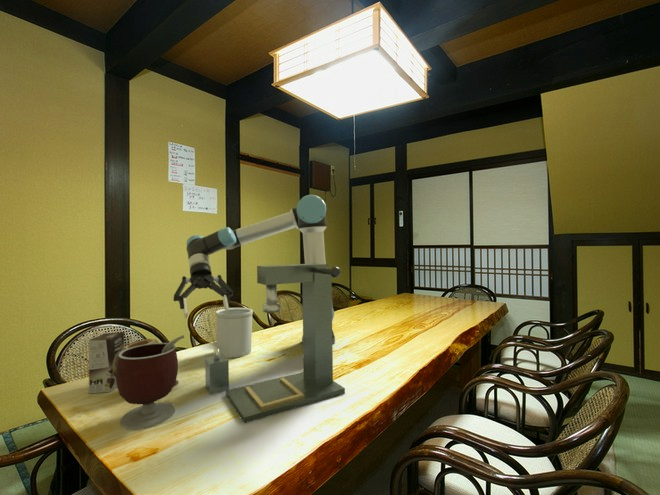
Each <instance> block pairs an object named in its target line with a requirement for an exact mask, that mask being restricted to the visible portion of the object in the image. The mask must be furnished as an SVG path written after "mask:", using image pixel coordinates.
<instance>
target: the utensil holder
mask: <svg viewBox="0 0 660 495" xmlns="http://www.w3.org/2000/svg"><path fill="white" fill-rule="evenodd" d="M253 312H254V311H253V309H252V308H249V307H229V312H228V314H226V313H225V308H223V309H222V308H221V309H218V310H216V311H215V316H216V317H215V318H216V321H215V324H216V333H215V334H216V349H217V348H218V349H219V355H222V354H223V355H224V356H225V357H226V358H227V359H235V358H236V359H237V358H240V357H245V356H248V355H250V354H251V352H252V338H253V336H252V334H253Z"/></svg>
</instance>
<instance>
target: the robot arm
mask: <svg viewBox="0 0 660 495" xmlns="http://www.w3.org/2000/svg"><path fill="white" fill-rule="evenodd" d="M291 229H296V230H299V231H300V233H302V240H303V243H302V244H303V253H304V254H303V256H304V257H303V258H304V264H327V262H326V251H325V250H326V249H325V236H324V232H325V230H326V229H327V204H326V202H325V201H324V200H323V198H321V197H320V196H318V195H315V194H308V195H305V196H303V197H302V198H300V200H298V202H297V205H296V207H293V208H290V210H289V212H285V213H282V214H279V215H275V216H273V217H269V218H266V219H264V220H261V221H257V222H254V223H252V224H248V225H246V226H242V227H240V228H236V229H231V228H230V227H229V226H227V227H224V228H220V229H219V230H217V231H215V232H213V233H210V234H208V235H206V236H202V235H200V234H198V235H191V236H190V237H188V238H187V240H186V252H187V258H188V259H187V260H188V268H189V275H190V277H186V276H184V275H183V276H182V277H181V282H180V283H179V286H178V287H177V289H176V291H175V293H174V294H173V297H172V298H173V301H174V302H178V303H179V308H180V310H183V314H184V316H183V317H184V319H187V318H188V314H189V311H188V305H187V304H188V303H187V298H188V297H189V296H190V295H191V294H192V292H194V291H195V290H196V289H198V290H201V289H210V290H212V291H214V292H215V293H217V294H218V295H219V296H221V297H222V302H223V307H224V308H223V309H225V313H226V314H228V312H229V308H230V307H229V306H230V304H231V298H233V296H234V290H232V288H231V287H230V286H229V285H228V284H227V283H226V282H225V281H224V279H223V278H222V275H221V274H218V275H217V276H214V275H213V273H212V268H211V264H210V255H213V254H215V253H217V252H220V251H223V250H228V251H230V250H234V249H235V248H238V247H240V246H243V245H247V244H249V243H252V242H255V241H259V240H261V239H264V238H267V237H271V236H273V235H277V234H280V233H283V232H286V231H289V230H291ZM188 283H190V286H188V287H187V288H186V290H184V288H185V287H186V285H187V284H188ZM183 290H184V291H183ZM334 317H335V311H334V308H333V304H332V321H333V320H334ZM301 344H302V345H303V335H302V337H301ZM334 344H336V337H335V333H334V330H333V329H332V346H333V345H334Z"/></svg>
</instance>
